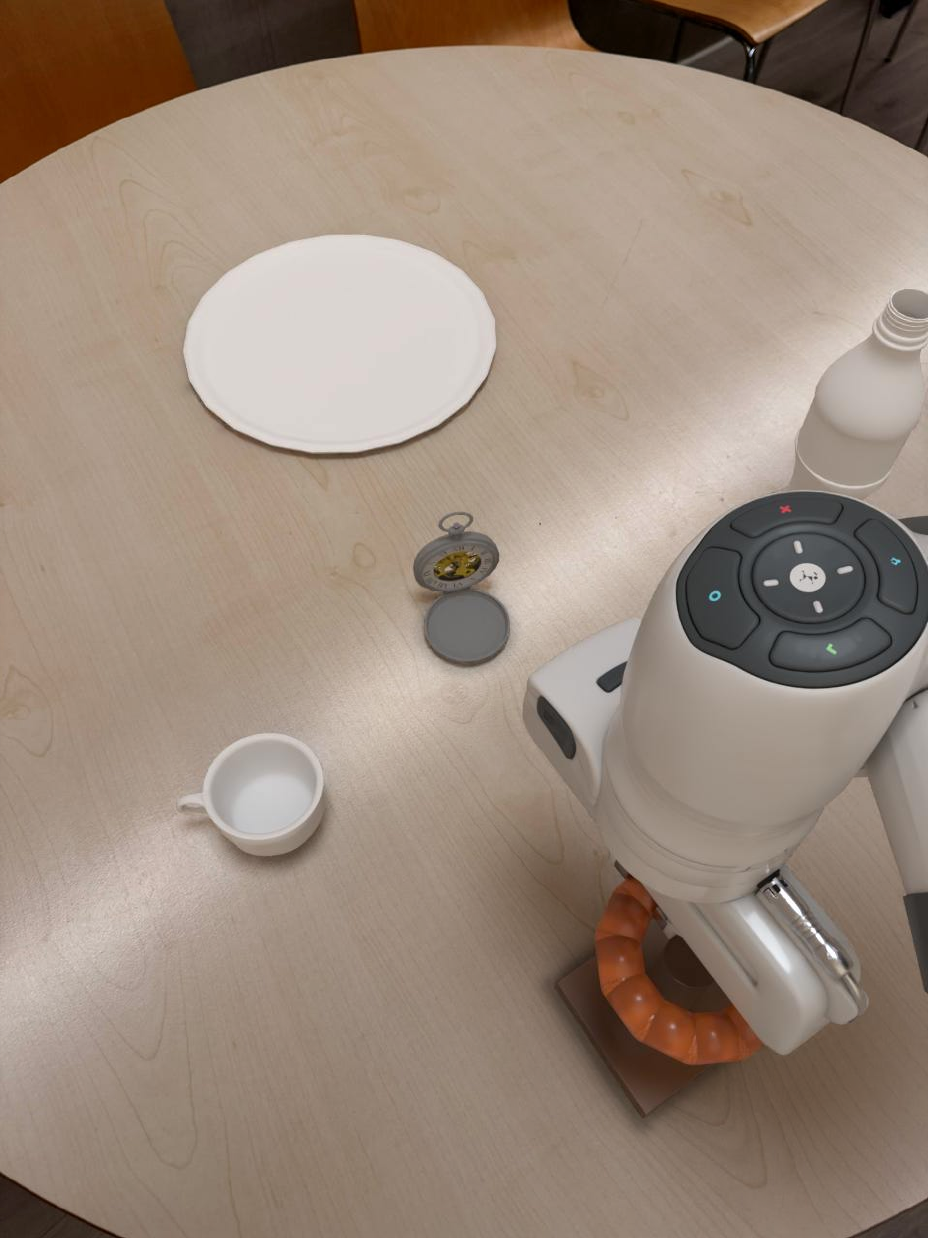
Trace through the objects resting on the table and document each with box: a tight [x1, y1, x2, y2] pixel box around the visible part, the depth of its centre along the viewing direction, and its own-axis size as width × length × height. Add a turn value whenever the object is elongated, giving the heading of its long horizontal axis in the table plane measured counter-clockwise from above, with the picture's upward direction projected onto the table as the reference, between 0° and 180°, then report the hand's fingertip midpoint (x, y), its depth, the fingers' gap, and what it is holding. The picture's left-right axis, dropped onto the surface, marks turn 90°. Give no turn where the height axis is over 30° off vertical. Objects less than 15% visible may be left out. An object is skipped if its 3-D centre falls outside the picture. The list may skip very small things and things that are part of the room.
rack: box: [554, 918, 732, 1119], centre depth 59 cm, size 9×9×12 cm
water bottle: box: [779, 287, 928, 501], centre depth 74 cm, size 7×7×25 cm
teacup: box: [175, 732, 325, 857], centre depth 69 cm, size 10×8×5 cm
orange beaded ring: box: [594, 876, 765, 1065], centre depth 54 cm, size 10×10×2 cm
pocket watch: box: [412, 511, 511, 665], centre depth 76 cm, size 8×8×10 cm
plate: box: [182, 233, 497, 455], centre depth 96 cm, size 29×29×1 cm
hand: (649, 890), depth 55 cm, fingers closed on orange beaded ring, 2 cm apart
